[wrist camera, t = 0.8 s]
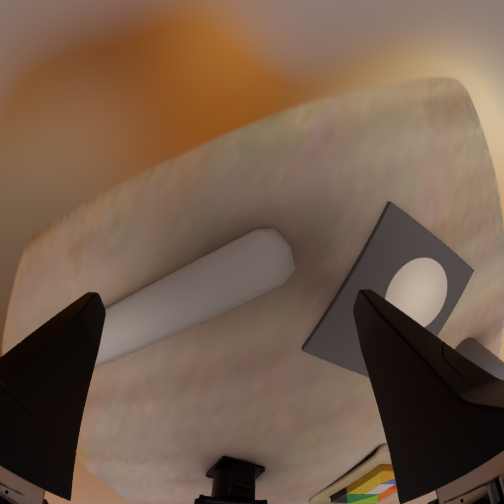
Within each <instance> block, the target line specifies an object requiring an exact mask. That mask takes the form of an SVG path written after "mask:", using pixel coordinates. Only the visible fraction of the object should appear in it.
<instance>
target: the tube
mask: <svg viewBox="0 0 504 504" xmlns="http://www.w3.org/2000/svg"><path fill="white" fill-rule="evenodd" d="M295 270H296V269H295V264H294V260H293V256H292V251H291V247H290V245H289V244H288V243H287V242H286V240H285V239H284V238H283V237H282V236H281V235H280V233H279V232H278V231H277V230H276V229H275V228H264V229H255V230H253V231H251V232H249V233H247V234H246V235H244V236H242V237H240V238H238V239H236V240H234V241H232V242H230V243H228V244H226V245H224V246H222V247H220V248H218V249H216V250H214V251H213V252H211V253H209V254H207V255H205V256H203V257H201V258H199V259H197V260H195V261H193V262H191V263H190V264H188V265H186V266H184V267H182V268H180V269H178V270H176V271H174V272H173V273H171V274H169V275H167V276H165V277H163V278H161V279H159V280H157V281H156V282H154V283H152V284H150V285H148V286H146V287H144V288H143V289H141V290H139V291H137V292H135V293H133V294H131V295H130V296H128V297H126V298H124V299H122V300H120V301H119V302H117V303H115V304H113V305H111V306H109V307H108V308H106V309H105V311H106V318H105V322H104V327H103V332H102V337H101V342H100V347H99V352H98V356H97V359H96V363H95V367H98V366H100V365H103V364H105V363H108V362H111V361H113V360H116V359H118V358H121V357H123V356H125V355H128V354H130V353H133V352H135V351H138V350H140V349H142V348H145V347H147V346H150V345H152V344H154V343H157V342H159V341H161V340H164V339H166V338H168V337H171V336H173V335H175V334H178V333H180V332H182V331H184V330H187V329H189V328H191V327H193V326H196V325H198V324H200V323H202V322H205V321H207V320H209V319H211V318H213V317H216V316H218V315H220V314H222V313H224V312H226V311H229V310H231V309H233V308H235V307H237V306H239V305H241V304H243V303H246V302H248V301H250V300H252V299H254V298H256V297H258V296H260V295H262V294H264V293H266V292H268V291H270V290H273V289H275V288H277V287H279V286H281V285H283V284H284V283H285V282H286V281H287V280H288V278H289V277H290V276H291V275H292V273H293V272H294V271H295ZM95 367H94V368H95Z"/></svg>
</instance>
